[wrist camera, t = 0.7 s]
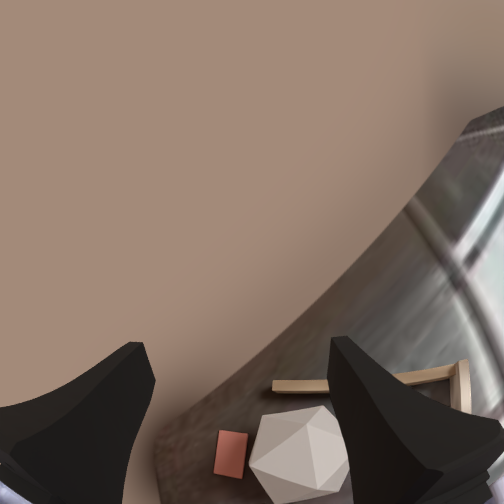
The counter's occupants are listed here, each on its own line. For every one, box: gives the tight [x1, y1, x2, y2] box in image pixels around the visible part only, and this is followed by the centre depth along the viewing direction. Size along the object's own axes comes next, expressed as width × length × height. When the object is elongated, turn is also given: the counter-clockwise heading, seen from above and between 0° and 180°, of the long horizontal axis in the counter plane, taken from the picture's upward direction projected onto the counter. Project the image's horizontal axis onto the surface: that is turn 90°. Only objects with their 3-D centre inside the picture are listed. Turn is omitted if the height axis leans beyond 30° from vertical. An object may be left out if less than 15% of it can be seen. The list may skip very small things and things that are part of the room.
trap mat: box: [214, 430, 248, 479], centre depth 22 cm, size 5×3×1 cm, turn 173°
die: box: [249, 406, 350, 504], centre depth 17 cm, size 8×9×10 cm
